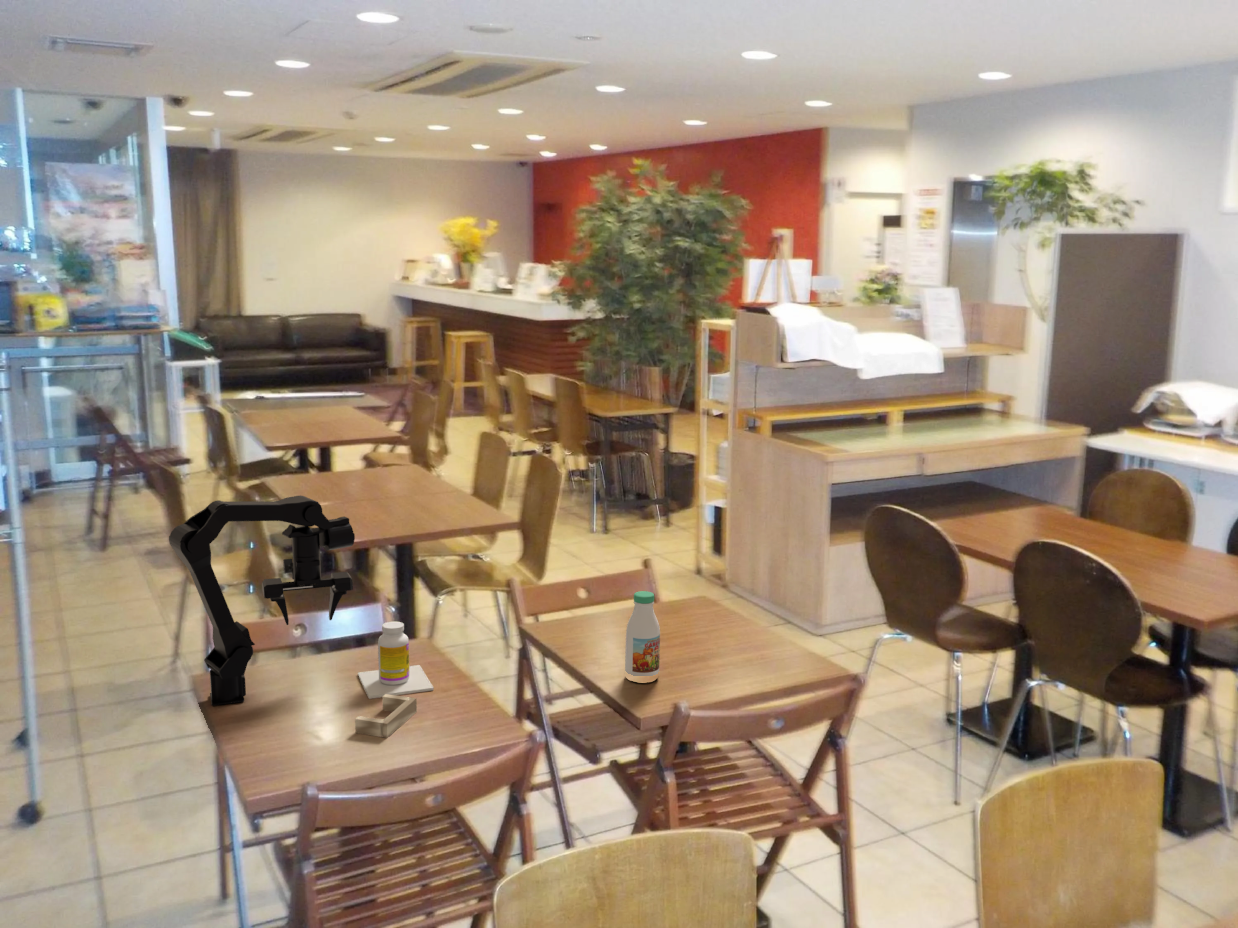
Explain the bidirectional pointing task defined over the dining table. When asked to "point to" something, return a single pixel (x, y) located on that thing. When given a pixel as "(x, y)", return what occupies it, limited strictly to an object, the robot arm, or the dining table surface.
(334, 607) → the robot arm
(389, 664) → the supplement bottle
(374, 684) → the white mat
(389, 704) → the bottle cradle
